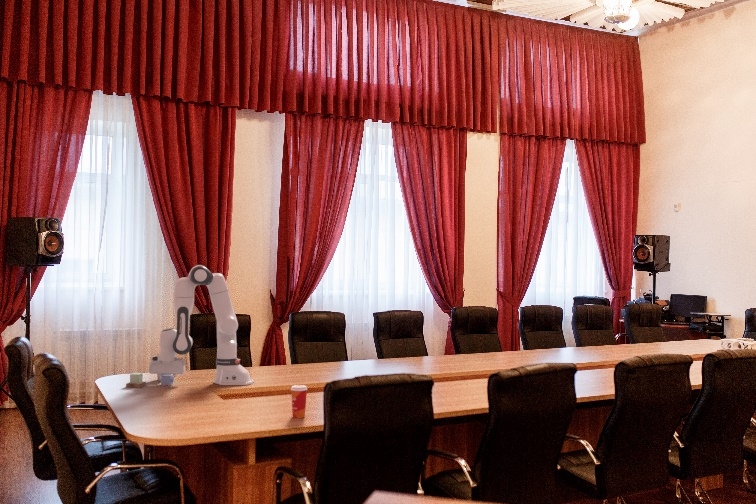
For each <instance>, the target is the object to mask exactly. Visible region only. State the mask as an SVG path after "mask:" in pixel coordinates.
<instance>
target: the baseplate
mask: <svg viewBox="0 0 756 504" xmlns="http://www.w3.org/2000/svg"><path fill="white" fill-rule="evenodd" d="M146 385H147V382H146V381H142V382H141V383H139V384H133V383H130V381H129V382H126V383H125V388H128V389H129V388H131V389H132V388H133V389H134V388H135V389H141V388H143V387H146Z"/></svg>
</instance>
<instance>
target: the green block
mask: <svg viewBox="0 0 756 504" xmlns="http://www.w3.org/2000/svg"><path fill="white" fill-rule="evenodd" d="M129 382H130V383H133V384H139V383H141V382H143V372H133V373H131V374H129Z"/></svg>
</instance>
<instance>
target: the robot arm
mask: <svg viewBox="0 0 756 504" xmlns="http://www.w3.org/2000/svg"><path fill="white" fill-rule="evenodd" d="M197 286H206V287H207V289H208V293H209V298H210V302H211V306H212V309H213V312H214V315H215V319H216V344H217V346H216V351H217V352H216V358H215V368H216V372H215V377H214V381H213V384H217V385H220V386H246V385H247V386H248V385H251V384H253V383H254V382H255V381H254V379H253V378H251V377H250V372H249V370H248V369H247V368H246V367H244V366H243V365H242V364H241V358H238V357H237V355H238V354H237V352H238V349H237V347H238V343H237V330H238V329H239V322H238V318H237V316H236V312H235V309H234V305H233V301H232V298H231V294H230V290H229V287H228V283H227V281H226V279H225V276H224V275H223V274H222V273H218V272H215V273H212V272H211V271H210V270H209V269H208V268H207V267H206V266H205V265H202V264H198V265H195V266H193V267H192V268H191V269H190V270H189V272H188V274H187V275H186V277H180V278H178V279H177V280H176V281H175V286H174V295H173V296H174V297H173V299H174V301H173V302H174V308H175V314H176V329H175V328H173V327H172V328H166V329H163V330H162V331H161V332H160V334H159V343H158V344H159V353H158V354H155V355H153V356H151V357H150V362H149V364H148V372H149V374H150V375H153V374H154V375H155V374H158V377H159V379H160V381H159V382H160V383H161V375H162V374H171V375H173V378H172V379H171V382H173V383H175V379H176V377H177V376H178V375H184V374H185V373H186V359H185V358H184V357H176V354H177V355H180V356H183V355H187V354H188V353H190V351H191V349H192V348H193V347H192V346H193V343H194V340H193V337H191V336H190V335H189V326H190V324H189V320H190V316H191V314H192V312H193V309H194V305H195V289H196V287H197ZM158 377H157V378H158Z"/></svg>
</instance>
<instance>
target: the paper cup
mask: <svg viewBox="0 0 756 504" xmlns="http://www.w3.org/2000/svg"><path fill="white" fill-rule="evenodd" d="M290 391H291V411H292V413H291V415H292V418H294V419H303V418H305V416H306V405H307V393H308V392H307V391H308V387H307V386H306V385H304V384H303V385H301V384H296V385H295V384H294V385H292V386H291V388H290Z"/></svg>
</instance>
